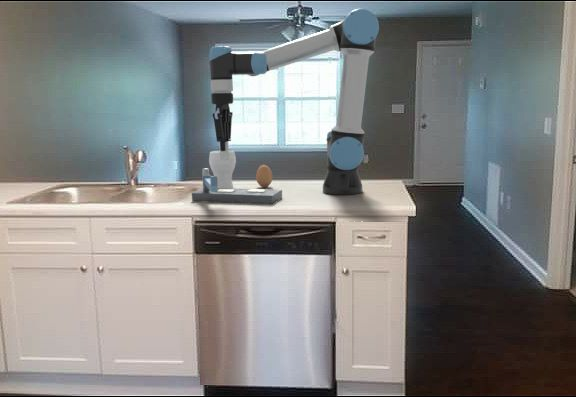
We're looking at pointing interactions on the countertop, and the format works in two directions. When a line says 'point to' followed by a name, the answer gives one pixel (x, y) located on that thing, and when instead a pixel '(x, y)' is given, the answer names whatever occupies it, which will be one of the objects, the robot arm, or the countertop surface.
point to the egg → (264, 176)
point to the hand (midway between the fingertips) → (224, 159)
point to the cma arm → (210, 182)
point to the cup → (222, 168)
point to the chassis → (236, 194)
